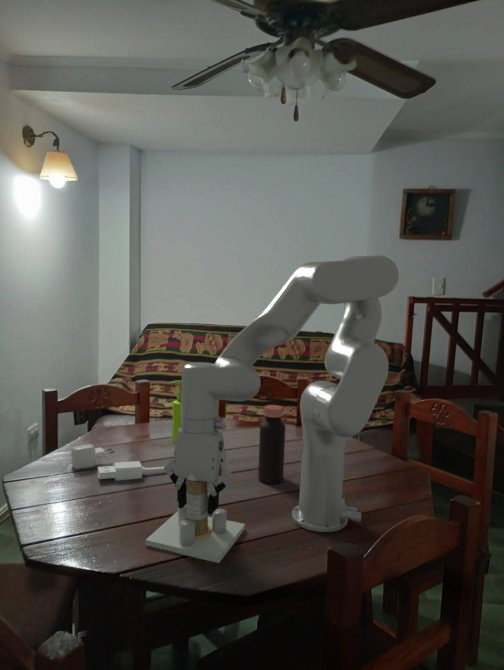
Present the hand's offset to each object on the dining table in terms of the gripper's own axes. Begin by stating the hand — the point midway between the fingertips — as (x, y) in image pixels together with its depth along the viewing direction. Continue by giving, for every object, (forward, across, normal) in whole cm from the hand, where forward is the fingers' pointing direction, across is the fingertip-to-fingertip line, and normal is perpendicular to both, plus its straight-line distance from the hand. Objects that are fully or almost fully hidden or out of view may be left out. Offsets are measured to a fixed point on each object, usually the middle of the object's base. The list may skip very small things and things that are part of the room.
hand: (197, 507), depth 103 cm
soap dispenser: (+7, +32, -53) cm, 62 cm away
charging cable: (+7, +25, -26) cm, 37 cm away
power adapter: (+7, +44, -24) cm, 51 cm away
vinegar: (+7, -5, -35) cm, 36 cm away
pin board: (+6, 0, 0) cm, 6 cm away
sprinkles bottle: (+5, 0, 0) cm, 5 cm away
